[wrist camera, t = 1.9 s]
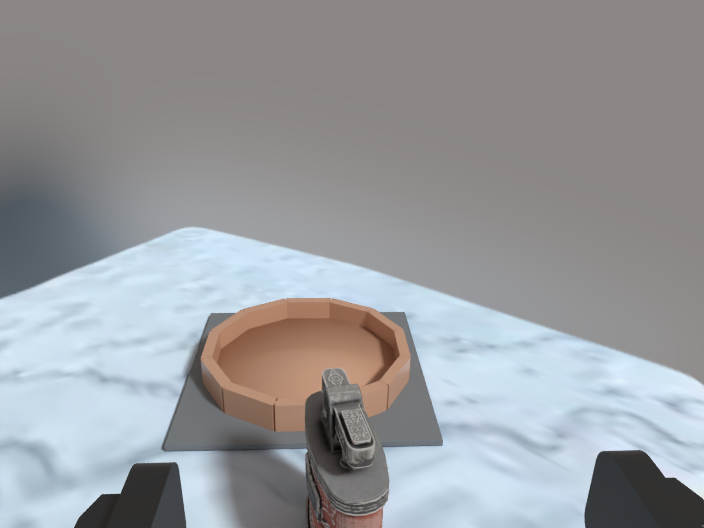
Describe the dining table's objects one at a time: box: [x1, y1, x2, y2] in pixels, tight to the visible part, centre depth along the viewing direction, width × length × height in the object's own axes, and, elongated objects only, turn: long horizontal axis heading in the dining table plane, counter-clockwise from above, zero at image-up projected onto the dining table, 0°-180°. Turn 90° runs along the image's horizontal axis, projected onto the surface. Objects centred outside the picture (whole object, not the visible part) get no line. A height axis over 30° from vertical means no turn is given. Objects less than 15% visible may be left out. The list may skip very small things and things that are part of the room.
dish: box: [201, 298, 411, 432], centre depth 45 cm, size 16×16×2 cm
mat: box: [164, 312, 443, 451], centre depth 46 cm, size 18×18×1 cm
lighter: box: [305, 368, 389, 528], centre depth 29 cm, size 8×3×10 cm, turn 14°
